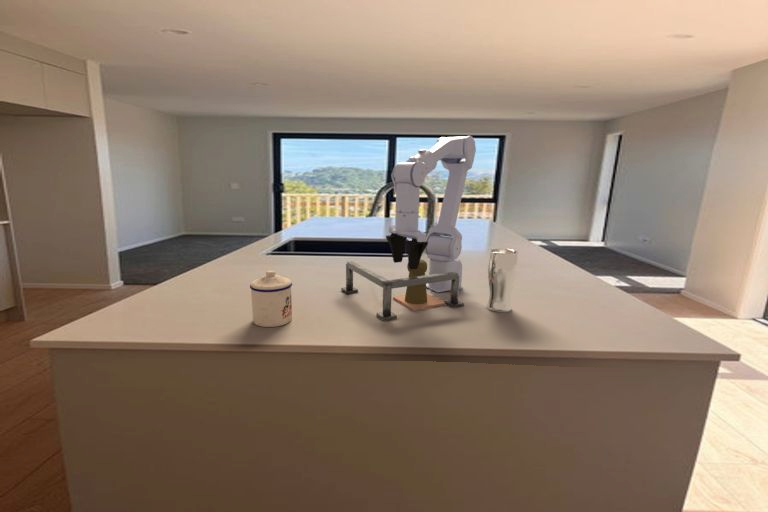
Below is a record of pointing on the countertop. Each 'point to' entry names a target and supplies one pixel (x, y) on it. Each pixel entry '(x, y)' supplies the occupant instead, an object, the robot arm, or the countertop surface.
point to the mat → (430, 303)
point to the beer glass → (501, 278)
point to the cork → (417, 292)
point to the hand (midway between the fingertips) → (405, 265)
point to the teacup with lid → (271, 300)
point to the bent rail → (398, 283)
